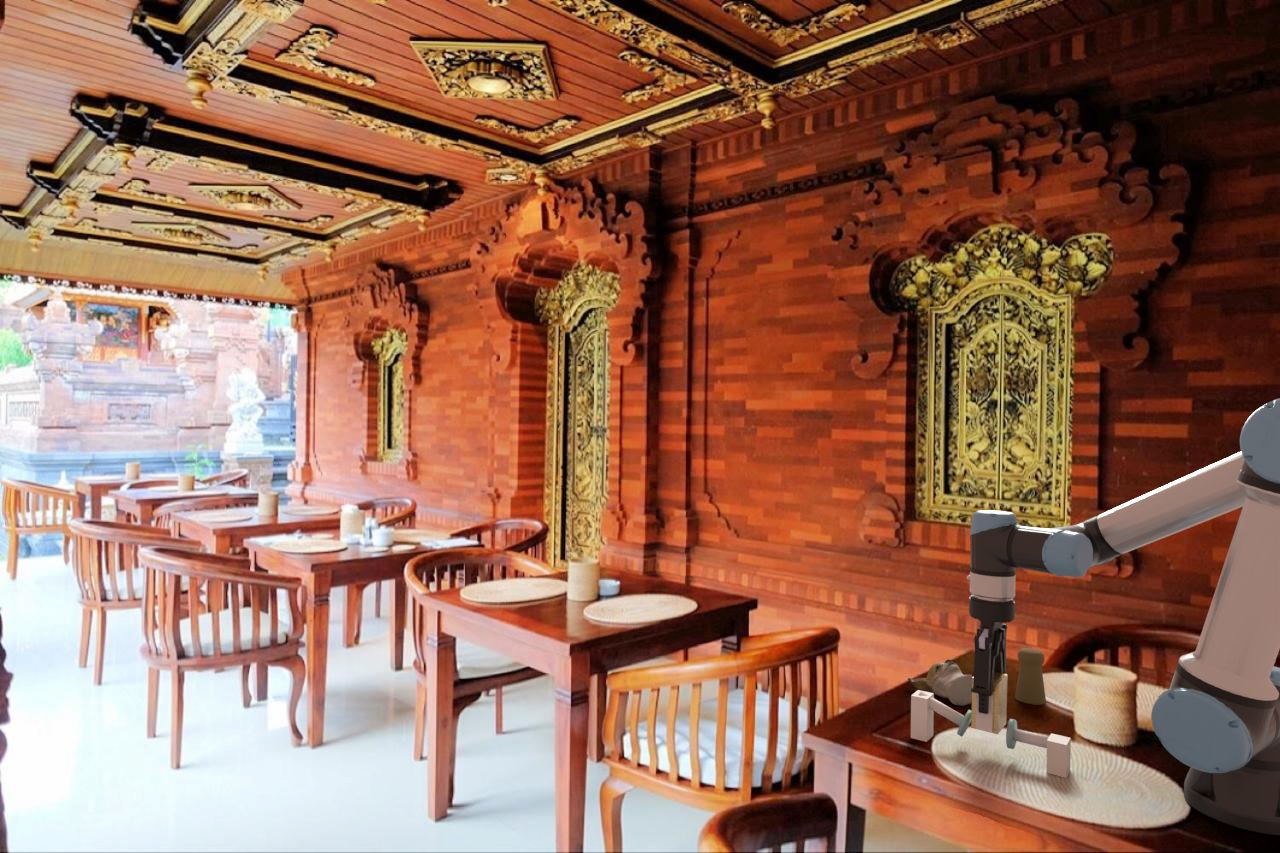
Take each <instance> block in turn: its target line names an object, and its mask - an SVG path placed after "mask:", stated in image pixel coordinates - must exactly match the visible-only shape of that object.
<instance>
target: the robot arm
mask: <svg viewBox="0 0 1280 853" xmlns="http://www.w3.org/2000/svg"><path fill="white" fill-rule="evenodd" d="M1239 447H1240V451H1238V452H1237V453H1234V454H1232V455H1230V456H1228V457H1226V458H1223V459H1221V460H1219V461H1217V462H1214V463H1212V464H1209V465H1208V466H1205V467H1203V468H1200V469H1198V470H1196V471H1194V472H1192V473H1190V474H1187V475H1185V476H1183V477H1181V478H1178V479H1176V480H1174V481H1172V482H1169V483H1168V484H1167V483H1166V484H1165V485H1163V486H1161V487H1158V488H1156V489H1154V490H1152V491H1149V492H1147V493H1145V494H1142V495H1141V496H1138V497H1135V498H1134V499H1131V500H1129V501H1127V502H1124V503H1122V504H1120V505H1118V506H1116V507H1113V508H1112V509H1109V510H1107V511H1105V512H1102V513H1100V514H1098V515H1097V516H1093V517H1090V518H1089V519H1086V520H1084V521H1082V522H1080V523H1077V524H1073V525H1066V526H1057V527H1050V528H1047V527H1046V528H1045V527H1036V526H1034V527H1033V526H1026V525H1022V524H1018V520H1017V515H1016V513H1014V512H1011V511H1004V510H995V509H994V510H989V509H988V510H987V509H985V510H976V511H975V512H973V514H972V515H971V523H970V533H969V537H970V538H969V540H970V544H969V545H970V555H969V556H970V560H969V562H970V565H969V566H970V567H969V574H968V575H967V576H966V579H967V581H969V592H970V593H971V595H970V596H969V597H968V615H969V616H970V617H971V618H972V619H975V620H978V621H980V624H979V625H980V626H979V627H978V628H977V629H976V635H974V637H973V640H974V660H973V661H974V662H973V663H974V664H973V677H974V682H973V689H972V688H971V692H974V693H976V729H975V730H978V731H982V732H987V733H990V732H991V733H990V734H993V733H992V732H993V707H994V695H993V694H992V687H993V676H994V672H999V673H1004V674H1007V631H1008V630H1007V629H1008V626H1007V625H1008V624H1006V623H1011V622H1014V620H1015V618H1016V616H1015V614H1016V610H1015V609H1016V601H1015V600H1014V598H1015V597H1016V577H1017V575H1016V569H1022V570H1027V571H1034V572H1038V573H1044V574H1049V575H1055V576H1057V577H1069V578H1082V577H1084V576H1086V574H1087V573H1088V571H1089V570H1090V569H1091V567H1098V566H1102V565H1105V564H1107V563H1109V562H1111V561H1112V560H1114V559H1115V558H1117V557H1119V556H1121V555H1124V554H1126V553H1129V552H1132V551H1134V550H1136V549H1139V548H1141V547H1144V546H1147V545H1150V544H1151V543H1154V542H1156V541H1160V540H1161V539H1165V538H1167V537H1170V536H1172V535H1174V534H1177V533H1180V532H1182V531H1184V530H1185V531H1186V530H1187V529H1190V528H1192V527H1195V526H1198V525H1199V524H1203V523H1205V522H1208V521H1209V520H1212V519H1214V518H1217V517H1219V516H1222V515H1225V514H1228V513H1230V512H1233V511H1236V510H1238V509H1240V508H1241V512H1240V514H1239V518H1238V521H1237V523H1236V527H1235V530H1234V533H1233V536H1232V539H1231V542H1230V544H1229V548H1228V551H1227V554H1226V557H1225V560H1224V563H1223V566H1222V569H1221V572H1220V575H1219V579H1218V581H1217V585H1216V588H1215V590H1214V594H1213V596H1212V600H1211V603H1210V606H1209V609H1208V612H1207V615H1206V618H1205V621H1204V624H1203V627H1202V630H1201V632H1200V637H1199V640H1198V643H1197V646H1196V649H1195V651H1192V652H1190V653H1186V654H1183V655H1181V656H1180V657H1179V659H1178V662H1177V665H1176V668H1175V671H1174V673H1173V676H1172V680H1171V682H1170V686H1169V688H1168V689H1167V690H1165V691H1163V692H1162V694H1160V695H1159V696H1158V698H1157V699H1156V700H1155V702H1154V704H1153V705H1152V709H1151V724H1152V728H1153V730H1154V733H1155V735H1156V737H1158V739H1159V741H1160V742H1161V744H1162V746H1163V748H1165V750H1166V751H1167V752H1168V753H1169V754H1170V755H1172V756H1173V757H1174V759H1177V760H1178V761H1179V762H1181V763H1182V764H1183V765H1186V766H1187V767H1190V768H1189V770H1188V772H1187V774H1186V776H1185V779H1184V783H1183V786H1184V787H1183V797H1184V800H1185V801H1186V802H1187V804H1188V805H1190V806H1191V807H1192V808H1194V809H1195V810H1196V811H1198V812H1200V813H1202V814H1204V815H1205V816H1207V817H1209V818H1212V819H1214V820H1216V821H1218V822H1221V823H1224V824H1226V825H1229V826H1232V827H1236V828H1238V829H1242V830H1246V831H1250V832H1255V833H1259V834H1265V835H1272V836H1280V667H1277V666H1274V665H1275V664H1276V660H1277V657H1278V655H1279V651H1280V397H1279V398H1276V399H1274V400H1271V401H1269V402H1267V403H1265V404H1263V405H1262V406H1260V407H1259V408H1257V409H1256V410H1255V411H1253V412H1252V413H1251V415H1250V416H1249V417H1248V418H1247V420H1246V421H1245V422H1244V425H1243V426H1242V428H1241V432H1240V436H1239ZM1008 683H1009V678H1007V685H1008Z"/></svg>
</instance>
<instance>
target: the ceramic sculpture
mask: <svg viewBox="0 0 1280 853" xmlns="http://www.w3.org/2000/svg"><path fill="white" fill-rule="evenodd" d="M973 677H974V675H972V674H963V672H962V670H961V668H960V667H959V665H958V664H957V663H955V662H954V661H952V660H951V659H945V661H944V662H938V663H934V664H933V665H931V666H930V667H929V670H928V673H927V676H926V677H917V678H911V677H909V678H907V680H908V682H909V683H910V684H911V685H913V687H915V688H916V689H917V690H920V691H925V692H930V693H934V695H936V696H938V697H941V698H944V699H947V700H949V701H950V703H952V704H953V705H956V706H961V707H964V706H968V705H969V704H972V692H971V688H972V678H973Z"/></svg>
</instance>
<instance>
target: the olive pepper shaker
mask: <svg viewBox="0 0 1280 853" xmlns="http://www.w3.org/2000/svg"><path fill="white" fill-rule="evenodd" d="M1017 652H1018V653H1017V660H1018V662H1019V670H1018V675H1017V684H1016V690H1015V695H1014V698H1015V699H1016V701H1019V702H1021V703H1024V704H1029V705H1035V706H1036V705H1038V706H1039V705H1045V704H1046V703H1047V698H1046V691H1045V690H1046V689H1045V682H1044V674H1043V668H1042V667H1043V665H1044V663H1045V655H1044V653H1043V651H1041V649H1040V650H1039V649H1037V648H1034V647H1033V648H1032V647H1022V648H1020V649H1018V651H1017Z"/></svg>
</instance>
